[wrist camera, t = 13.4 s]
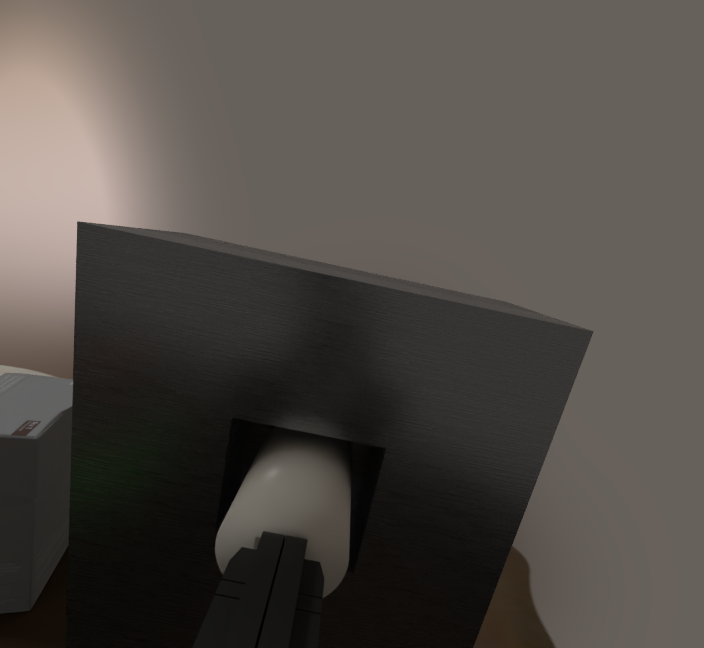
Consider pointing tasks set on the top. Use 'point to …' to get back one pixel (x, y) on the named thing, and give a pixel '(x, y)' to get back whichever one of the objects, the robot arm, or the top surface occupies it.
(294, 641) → the robot arm
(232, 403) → the tall grey block
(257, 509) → the white cylinder
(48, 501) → the skincare box
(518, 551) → the top surface
